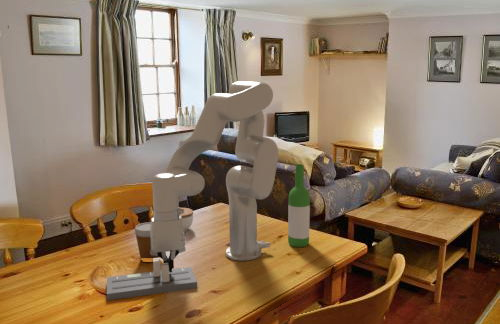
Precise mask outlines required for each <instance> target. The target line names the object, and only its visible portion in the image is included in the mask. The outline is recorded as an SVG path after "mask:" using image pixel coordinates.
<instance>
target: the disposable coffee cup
mask: <svg viewBox="0 0 500 324" xmlns="http://www.w3.org/2000/svg"><path fill="white" fill-rule="evenodd" d="M150 226H151V221H150V222H149V221H148V222H142V223H138V224H137V225H136V226H135V227H134V230H133V232H134V234H135V237H136V242H137V247H138V248H137V249H138V253H139V258H140V257H141V258H159V259H160V257H159V256H154V255H151V254H150V251H151V244H150ZM141 258H140V259H141Z"/></svg>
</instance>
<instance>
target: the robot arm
mask: <svg viewBox="0 0 500 324" xmlns="http://www.w3.org/2000/svg"><path fill="white" fill-rule="evenodd" d="M273 98H274V92H273V89H272V87H271V86H270V85H269V84H267V83H266V82H263V81H262V82H261V81H246V80H239V81H235V82H233V83H231V85H230V86H229V88H228V93H225V92H224V93H223V92H219V93H218V92H216V93H213V94H211V95H210V96H209V97H208V98H207V100H206V102H205V104H204V106H203V109H202V111H201V114H200V115H199V117H198V120H197V122H196V125H195V126H194V129H193V131H192V133H191V135H190V136H189V137H188V138H187V139H186V140H185V141H184V142H183V143H181V145H180V146H179V147H178V148H177V149H176V150H175V152H174V153H173V154H172V156H171V159H170V161H169V164H168V165H167V168H166V171H165V172H163V173H157V174H154V176H153V177H152V179H151V182H152V183H151V184H152V185H151V186H152V187H151V188H152V206H153V217H151V220H150V222H151V226H150V244H151V251H150V254H151V255H154V256H159V259H160V260H162V262H163V263H168V265H169V272H170V273H171V272H172V269H175V265H174V264H175V263H174V262H175V261H174V260H176V257H177V256H178V255H179V254H181V253H185V252H186V247H185V246H186V244H185V243H186V242H185V241H186V240H185V232H184V229H183V223H182V218H181V216H179V215H180V214H183V213H184V209H180V208H179V205H180V204H179V203H180V202H179V201H180V200H179V197H193V196H197V195H199V194H200V193H202V191H203V190H204V188H205V185H206V181H205V178H204V177H203V175H202V174H200V173H198V172H197V171H193V170H191V169H190V166H191V164H192V162H194V161H195V159H196V158H197V157H199V156H200V155H201V154H203V153H206V152H207V151H210V150H212V149H214V148H216V147H217V146H218V144H219V142H220V140H221V137H222V134H223V132H224V129H225V127H226V125H227V123H228V122H232V123H239V124H238V131H237V138H236V141H235V143H236V144H235V148H234V152H235V153H234V154H235V157H236V159H238V160H240V162H243V163H247V164H251V165H253V166H252V167H250V166H247V165H236V166H233V167H231V168H230V169H229V170H228V171H227V173H226V177H225V186H226V190H227V194H228V195H227V196H228V207H229V208H228V210H229V211H228V215H229V216H228V218H229V223H228V224H229V246H228V247H227V248H226V249H225V256H226V257H227V258H228V259H231V260H232V261H240V262H244V261H246V262H247V261H252V260H255V259H258V258H260V256H261V255H262V249H263V248H264V249H265V248H267V249H268V248H271V242H270V241H268V242H267V241H266V242H265V240H259V241H258V226H257V224H258V222H257V221H258V219H257V218H258V217H257V216H258V213H257V212H258V210H257V209H258V205H257V201H256V200H264V199H266V198H268V197H269V196H270V194H271V193H272V190H273V187H274V185H275V177H276V173H277V168H278V167H277V166H278V161H279V149H278V148H279V147H278V145H277V143H276V142H275V140H273V139H271V138H269V137H266V136H264V132H265V122H266V121H265V115H264V113H263V111H264V110H265V109H267V108H268V107H269V106H270V105H271V103H273V100H274V99H273ZM166 252H169V255H168V256H167V253H166Z"/></svg>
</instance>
